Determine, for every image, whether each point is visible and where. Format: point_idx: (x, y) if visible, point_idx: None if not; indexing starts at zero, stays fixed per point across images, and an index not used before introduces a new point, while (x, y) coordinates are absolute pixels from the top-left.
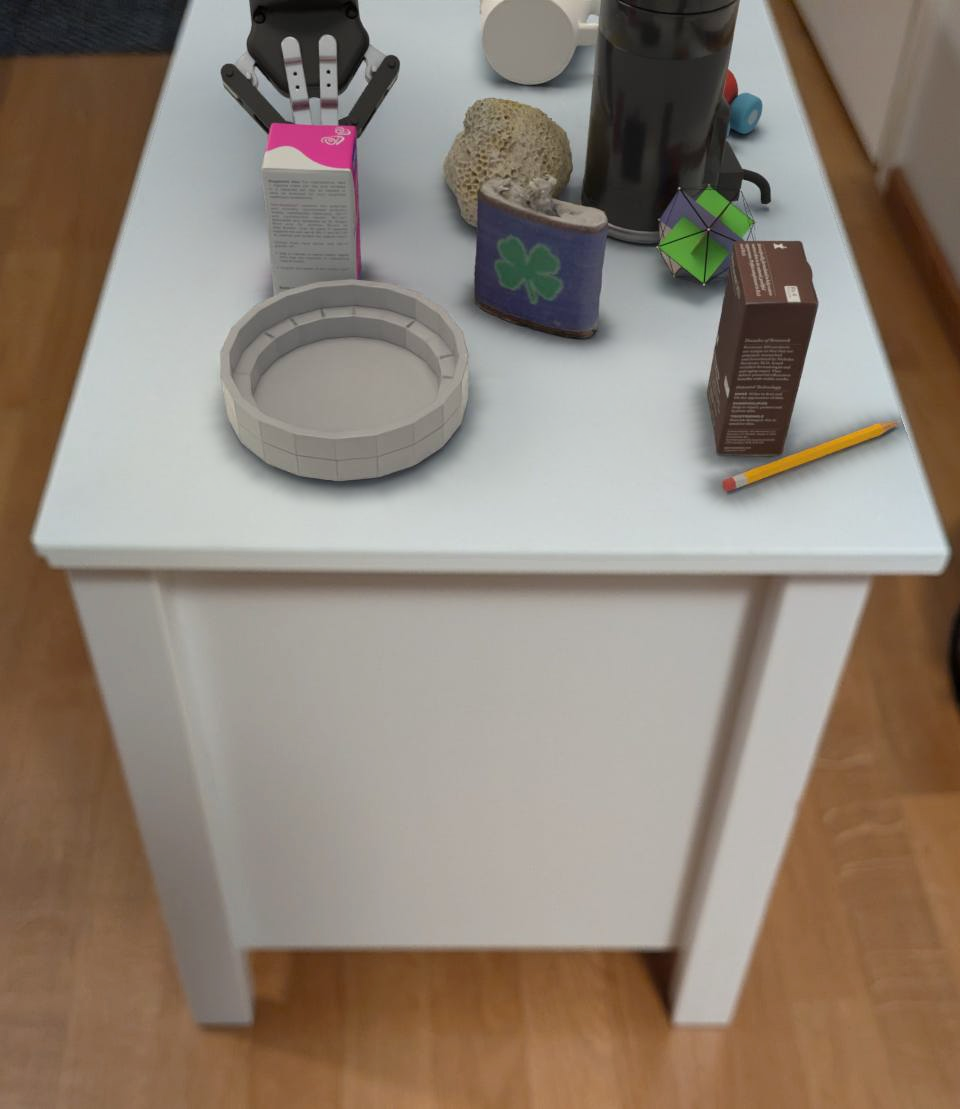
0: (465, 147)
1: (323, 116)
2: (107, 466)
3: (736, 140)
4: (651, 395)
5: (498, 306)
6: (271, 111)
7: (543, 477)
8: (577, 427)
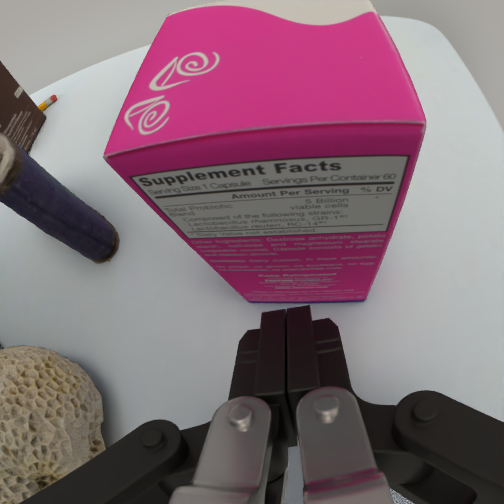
0: (36, 443)
1: (253, 460)
2: (430, 49)
3: None
4: (48, 151)
5: (97, 214)
6: (459, 445)
7: (133, 75)
8: (98, 113)
